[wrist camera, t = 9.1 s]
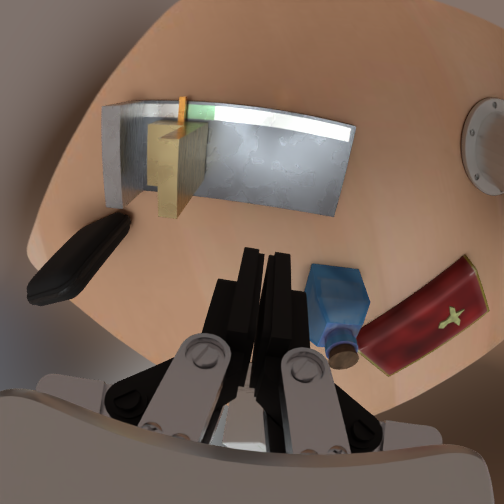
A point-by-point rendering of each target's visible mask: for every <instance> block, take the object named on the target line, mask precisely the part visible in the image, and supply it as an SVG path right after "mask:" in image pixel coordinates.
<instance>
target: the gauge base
mask: <svg viewBox="0 0 504 504" xmlns="http://www.w3.org/2000/svg"><path fill="white" fill-rule="evenodd" d="M178 111H179V100H135V101H127V102H121V103H116V104H111V105H106V106H102V161H103V177H104V190H105V201H106V207H109V208H118V209H124V208H125V207H126V206H127V205H128V204H129V203H130V202H131V201H132V200H133V199H134V198H135V197H136V196H137V195H139V194H140V193H141V192H142V191H143V190H146V191H156V192H158V186H150V185H147V135H148V124H150V123H153V122H156V121H159V120H173V121H178ZM185 121H192V122H206V123H209V124H208V135H207V146H206V159H205V173H204V181H203V182H202V184H201V185H200V186H199V188H198V189H197V191H196V192H195V193H194V195H193V196H200V197H208V198H216V199H223V200H231V201H238V202H245V203H252V204H259V205H265V206H272V207H278V208H284V209H291V210H297V211H303V212H308V213H314V214H320V215H325V216H331V217H334V215H335V211H336V207H337V204H338V200H339V196H340V192H341V188H342V185H343V181H344V177H345V173H346V169H347V165H348V160H349V156H350V152H351V148H352V143H353V139H354V134H355V130H356V126H354V125H351V124H347V123H343V122H338V121H334V120H330V119H325V118H321V117H316V116H311V115H306V114H301V113H295V112H290V111H284V110H277V109H271V108H264V107H256V106H248V105H239V104H229V103H218V102H203V101H187V106H186V118H185Z"/></svg>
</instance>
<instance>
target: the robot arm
mask: <svg viewBox="0 0 504 504" xmlns="http://www.w3.org/2000/svg"><path fill="white" fill-rule="evenodd" d="M462 159H463V163H464V167H465V170H466V173H467V175H468V177H469V179H470V180H471V182H472V183H473V184H474V185H475V186H476V187H477V188H478V189H479V190H481V191H482V192H483V193H486V194H488V195H493V196H496V195H501V194H503V193H504V100H502V99H498V98H486V99H483V100H481V101H480V102H478V103H477V104H476V105H475V106H474V107H473V108H472V110H471V111H470V113H469V115H468V117H467V119H466V121H465V125H464V129H463V134H462ZM264 255H265V254H260V253H259V249H254V248H248V247H245V248H244V253H243V257H242V262H241V266H240V271H239V276H238V280H237V282H236V281H230V280H224V279H218V280H217V283H216V287H215V290H214V293H213V296H212V300H211V303H210V307H209V310H208V313H207V317H206V320H205V323H204V327H203V330H202V333H200V334H195V335H192V336H190V337H189V338H187V339H186V340H185V341H184V342H183V343H182V344H181V346H180V348H179V350H178V352H177V353H176V355H175V357H174V358H171V359H169V360H167V361H165V362H163V363H160V364H158V365H156V366H154V367H151V368H149V369H147V370H145V371H142V372H140V373H137V374H135V375H133V376H130V377H128V378H126V379H123V380H121V381H118V382H117V383H115V384H114V385H112V384H106V383H105V382H104V381H99V380H91V379H84V378H77V377H71V376H65V375H60V374H48V375H46V376H44V377H43V378H42V379H40V380H39V382H38V385H37V387H36V391H35V390H28V389H7V390H3V391H0V504H494V497H493V489H492V483H491V479H490V475H489V471H488V468H487V466H486V463H485V461H484V459H483V458H482V457H481V455H479V454H478V453H477V452H475V451H473V450H471V449H469V448H465V447H462V446H457V445H447V444H442V437H441V435H440V433H439V431H438V430H436V429H435V428H434V427H430V426H423V425H416V424H407V423H401V422H394V421H389V420H386V421H384V422H379V421H378V420H377V419H376V418H375V417H374V416H373V415H372V414H371V413H369V412H368V411H367V410H366V409H365V408H363V407H362V406H361V405H360V404H359V403H357V402H356V401H355V400H354V399H353V398H351V397H350V396H349V395H348V394H347V393H346V392H344V391H343V390H342V389H341V388H340V387H339V386H337V385H336V384H335V383H334V381H333V377H332V373H331V370H330V366H329V364H328V361H327V360H326V358H325V357H324V356H323V355H322V354H320V353H319V352H317V351H316V350H313V349H310V336H309V321H308V307H307V295H306V292H302V291H295V290H291V259H290V254H286V253H279V252H275V255H274V256H273V255H269V258H268V263H267V268H266V273H265V278H264V283H263V288H262V293H261V283H262V274H263V265H264ZM260 293H261V298H260ZM259 302H260V303H259ZM254 340H255V341H254ZM253 345H254V349H253ZM252 350H253V358H252V366H251V374H250V383H249V388H254V389H255V390H254V397H256V402H257V403H258V404H259V405H260V406H261V407H262V408H263V421H264V432H265V444H266V452H259V451H250V450H241V449H234V448H227V447H221V446H215V445H211V442H212V439H213V437H214V434H215V431H216V429H217V426H218V423H219V420H220V418H221V415H222V412H223V409H224V406H225V404H227V403H229V402H230V401H232V400H234V399H235V398H236V397H237V392H238V387H239V386H240V387H244V385H245V381H246V377H247V372H248V368H249V363H250V359H251V354H252Z"/></svg>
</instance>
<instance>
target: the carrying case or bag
mask: <svg viewBox="0 0 504 504" xmlns="http://www.w3.org/2000/svg"><path fill="white" fill-rule="evenodd" d="M130 224H131V219H130V217H129V216H128V215H124V214H123V213H120V212H117V213H114V214H112V215H109V216H107V217H105V218H103V219H100V220H98V221H96V222H94V223H92V224H90V225H87V226H85V227H83V228H82V229H80V230H79V231H78V232H77V233H76V234H74V235H73V236H72V237H71V238H70V239H69V240H68V241H67V242H66V243H65V244H64V245H63V246H62V247H61V248H60V249H59V250H58V251H57V252H56V253H55V254H54V255H53V256H52V257H51V258H50V259H49V260H48V262H47V263H46V264H45V265H44V266H43V267H42V268H41V269H40V270H39V271H38V272H37V274H36V275H35V276H34V277H33V278H32V279H31V281H30V282H29V284H28V286H27V293H28V294H27V299H28V301H29V303H30V304H32V305H38V306H44V305H48V304H52V303H56V302H61V301H65V300H69V299H72V298H74V297H76V296H77V295H78V294H79V293H80V292H81V291H82V290H83V289H84V288H85V287H86V285H87V284H88V283H89V281H90V280H91V279H92V277H93V276H94V275H95V274H96V272H97V271H98V270H99V268H100V267H101V266H102V265H103V263H104V262H105V261H106V260H107V258H108V257H109V256H110V255H111V253H112V252H113V251H114V250H115V248H116V247H117V246H118V245H119V243H120V242H121V241H122V240H123V238H124V237H125V236H126V235H127V233H128V232H129V229H130Z"/></svg>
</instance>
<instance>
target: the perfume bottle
mask: <svg viewBox="0 0 504 504" xmlns="http://www.w3.org/2000/svg"><path fill="white" fill-rule="evenodd" d="M304 292H306V295H307V307H308V321H309V336H310V341H311V342H312V343H313V344H315V345H316V346H317V347H325V353H326V357H327V358H328V359H329V360H328V364H329V366H330V367H331V368H333V369H338V370H340V369H347V368H349V367H352V366H353V365H355V364H356V363H357V362H358V360H359V356H358V354H357V351H358V345H357V340H356V337H357V335H358V333H359V331H360V329H361V327H362V325H363V323H364V320H365V317H366V314H367V311H368V308H369V305H370V300H369V297H368V294H367V291H366V288H365V285H364V283H363V280H362V277H361V274H360V272H359V269H352V268H344V267H336V266H328V265H320V264H312V265H311V269H310V273H309V276H308V280H307V284H306V287H305V291H304Z"/></svg>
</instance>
